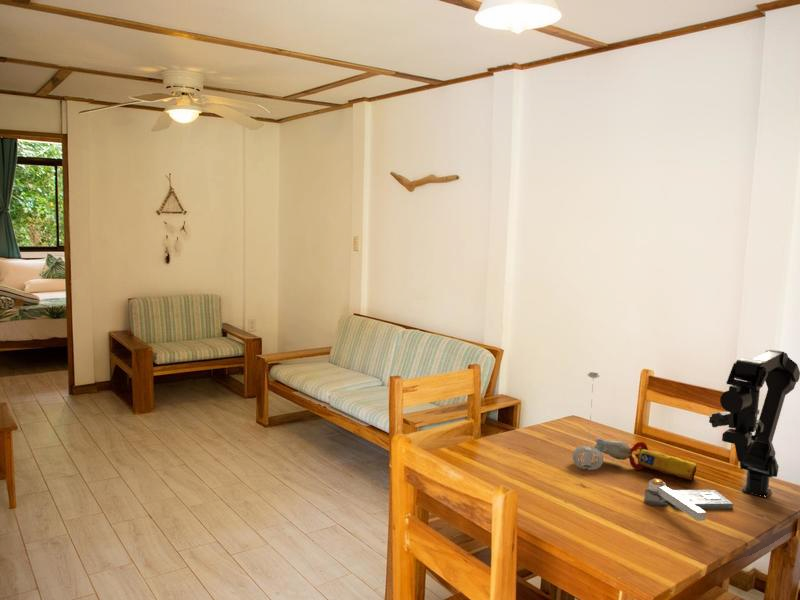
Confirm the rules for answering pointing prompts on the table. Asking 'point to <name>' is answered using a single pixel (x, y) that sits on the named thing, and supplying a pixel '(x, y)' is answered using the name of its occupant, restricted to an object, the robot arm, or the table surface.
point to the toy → (647, 458)
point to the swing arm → (676, 499)
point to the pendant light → (588, 449)
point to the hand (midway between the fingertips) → (740, 461)
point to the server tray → (705, 499)
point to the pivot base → (655, 499)
